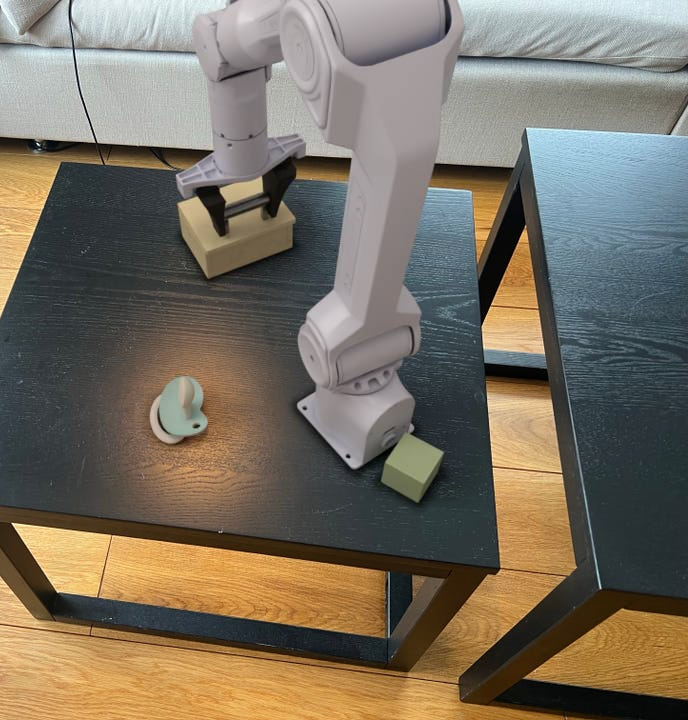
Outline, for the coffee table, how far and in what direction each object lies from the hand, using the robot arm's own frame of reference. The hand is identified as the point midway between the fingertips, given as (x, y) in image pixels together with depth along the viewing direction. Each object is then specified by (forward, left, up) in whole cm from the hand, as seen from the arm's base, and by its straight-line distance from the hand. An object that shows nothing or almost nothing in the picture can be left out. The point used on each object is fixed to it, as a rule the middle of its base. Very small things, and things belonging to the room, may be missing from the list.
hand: (245, 221), depth 88 cm
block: (-34, +5, -6) cm, 35 cm away
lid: (+3, 0, -1) cm, 3 cm away
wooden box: (+3, 0, -6) cm, 7 cm away
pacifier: (-15, +19, -6) cm, 25 cm away
